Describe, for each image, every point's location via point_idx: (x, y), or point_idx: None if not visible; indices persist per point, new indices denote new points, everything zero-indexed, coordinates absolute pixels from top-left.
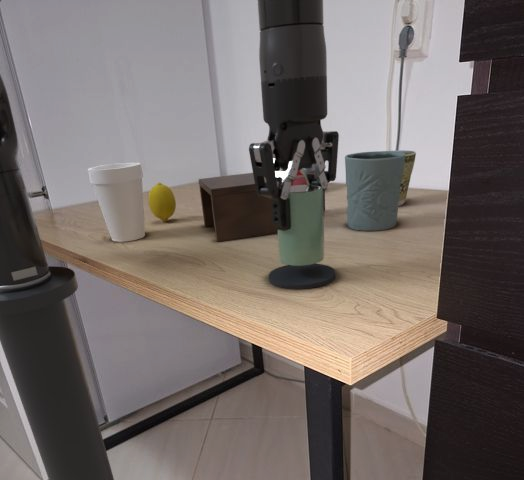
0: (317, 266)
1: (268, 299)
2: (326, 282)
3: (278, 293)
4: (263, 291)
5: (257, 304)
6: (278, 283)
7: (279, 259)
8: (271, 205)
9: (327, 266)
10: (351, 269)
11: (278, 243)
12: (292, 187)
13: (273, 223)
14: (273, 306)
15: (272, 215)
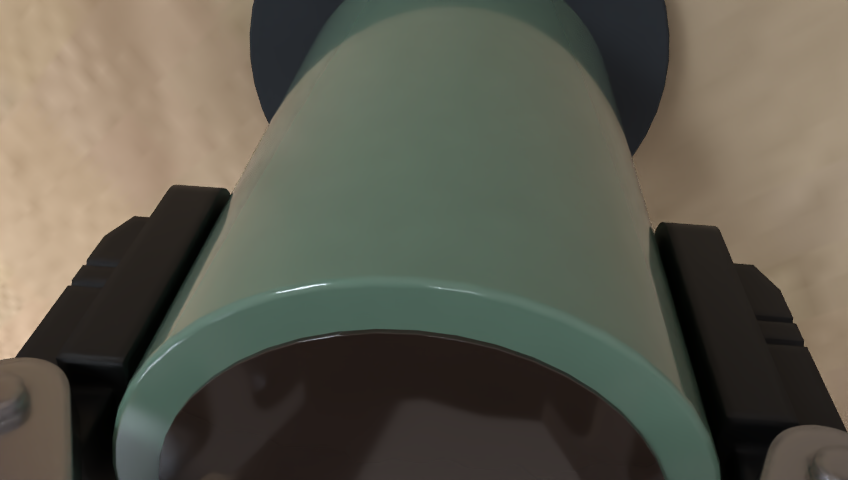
0: (611, 84)
1: (105, 108)
2: None
3: (192, 100)
4: (155, 10)
5: (27, 103)
6: (252, 50)
7: (327, 21)
8: (30, 342)
9: (635, 135)
10: (702, 218)
11: (301, 69)
12: (454, 431)
13: (119, 233)
14: (72, 179)
15: (80, 279)
